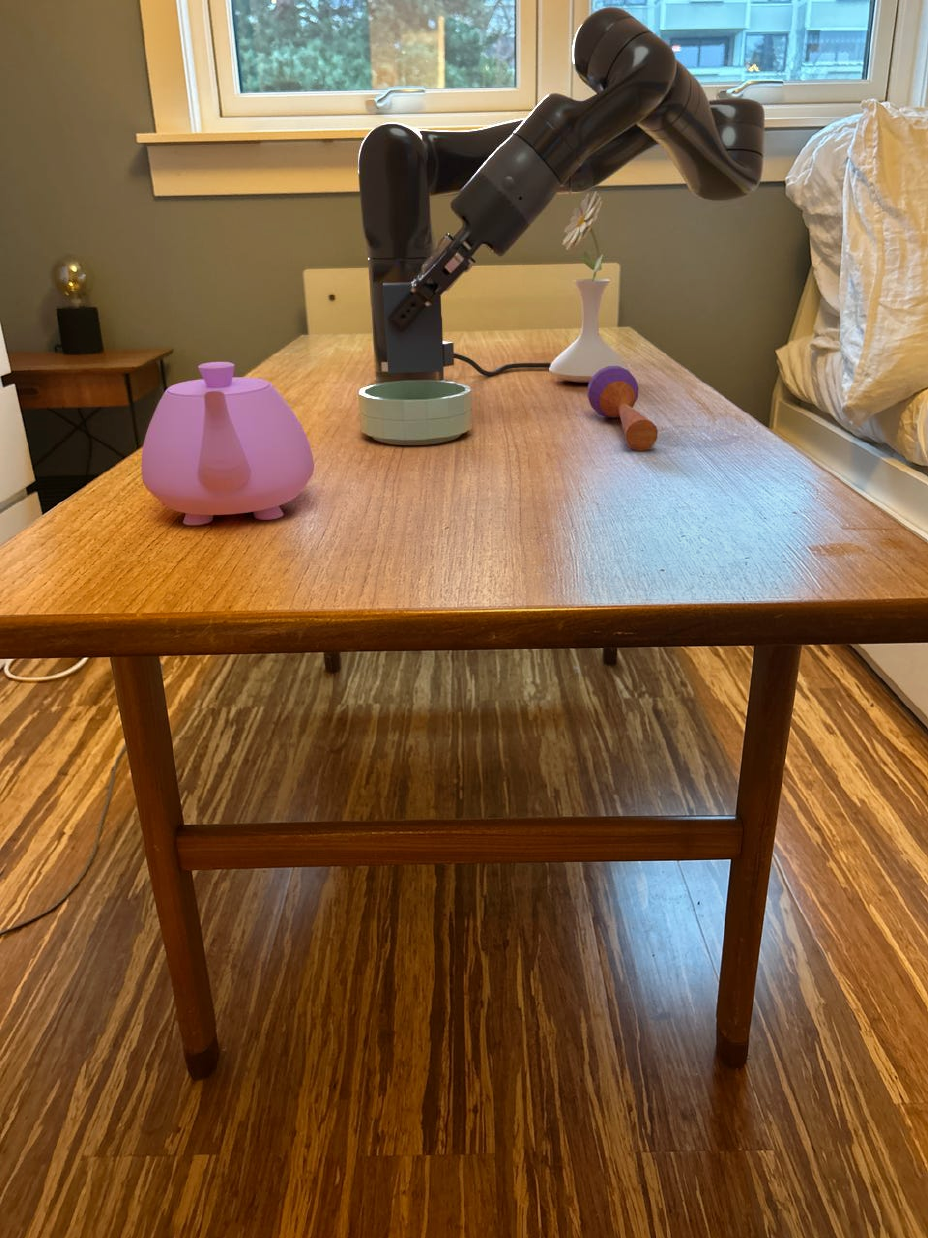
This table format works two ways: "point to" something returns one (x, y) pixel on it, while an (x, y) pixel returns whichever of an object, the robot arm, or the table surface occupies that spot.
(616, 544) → the table surface
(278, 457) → the teapot
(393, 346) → the dark gray rectangular block
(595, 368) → the flower in vase
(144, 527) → the table surface
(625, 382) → the kendama
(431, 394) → the bowl
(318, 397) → the table surface
